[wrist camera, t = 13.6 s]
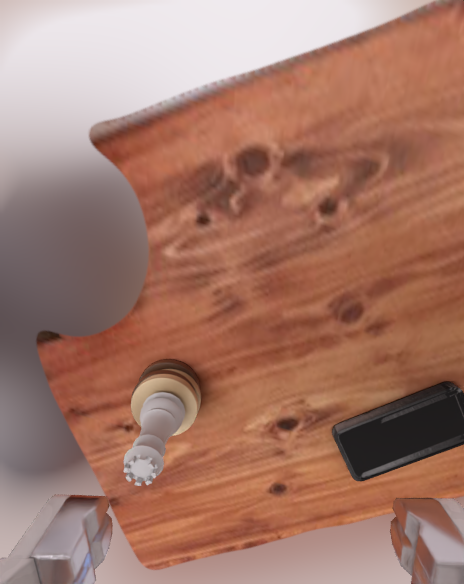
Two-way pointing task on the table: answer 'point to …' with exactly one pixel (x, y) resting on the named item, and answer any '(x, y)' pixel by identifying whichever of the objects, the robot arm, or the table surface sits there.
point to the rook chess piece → (153, 437)
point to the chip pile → (169, 388)
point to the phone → (402, 431)
